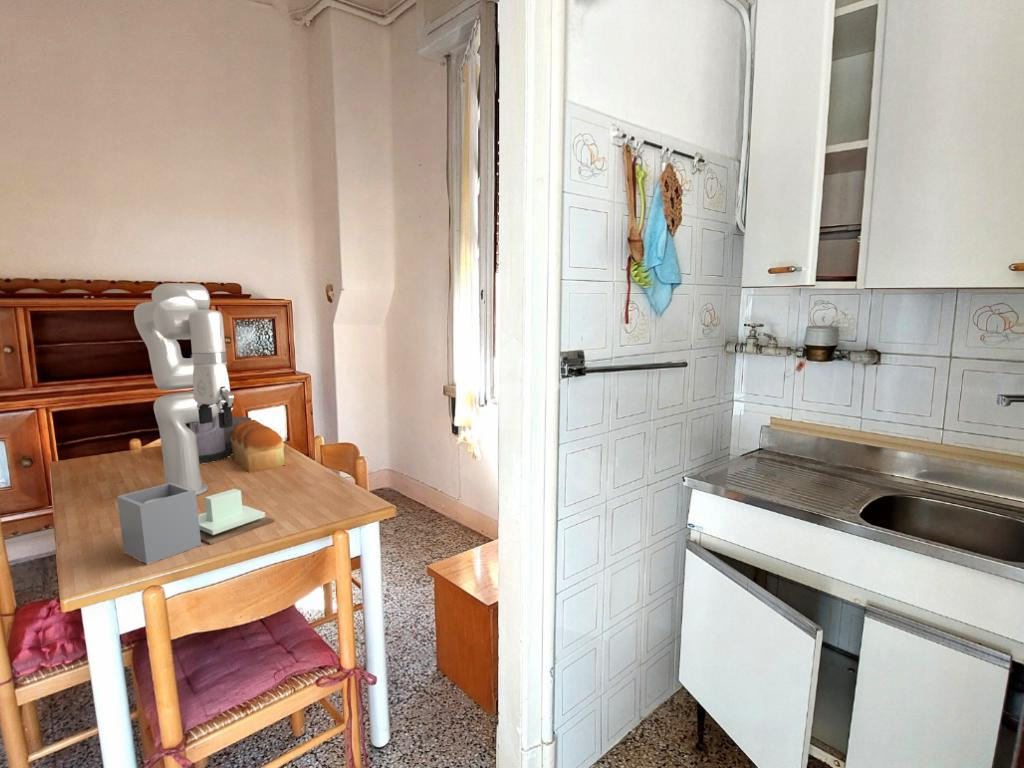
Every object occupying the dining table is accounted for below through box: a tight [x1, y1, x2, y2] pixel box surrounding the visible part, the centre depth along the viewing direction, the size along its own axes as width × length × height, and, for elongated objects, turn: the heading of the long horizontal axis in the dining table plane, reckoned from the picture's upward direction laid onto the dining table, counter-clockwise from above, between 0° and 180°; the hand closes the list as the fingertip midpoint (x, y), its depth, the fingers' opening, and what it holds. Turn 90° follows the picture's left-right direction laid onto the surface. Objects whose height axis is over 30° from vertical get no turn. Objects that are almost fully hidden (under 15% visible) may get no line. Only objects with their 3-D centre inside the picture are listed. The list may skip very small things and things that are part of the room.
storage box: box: [116, 482, 202, 565], centre depth 132 cm, size 12×12×14 cm
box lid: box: [198, 488, 266, 535], centre depth 146 cm, size 14×14×8 cm
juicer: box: [188, 411, 252, 464], centre depth 218 cm, size 30×16×24 cm, turn 156°
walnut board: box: [200, 516, 275, 545], centre depth 146 cm, size 17×17×1 cm
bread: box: [230, 419, 286, 473], centre depth 206 cm, size 25×12×15 cm, turn 40°
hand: (216, 425), depth 143 cm, fingers open, 9 cm apart
